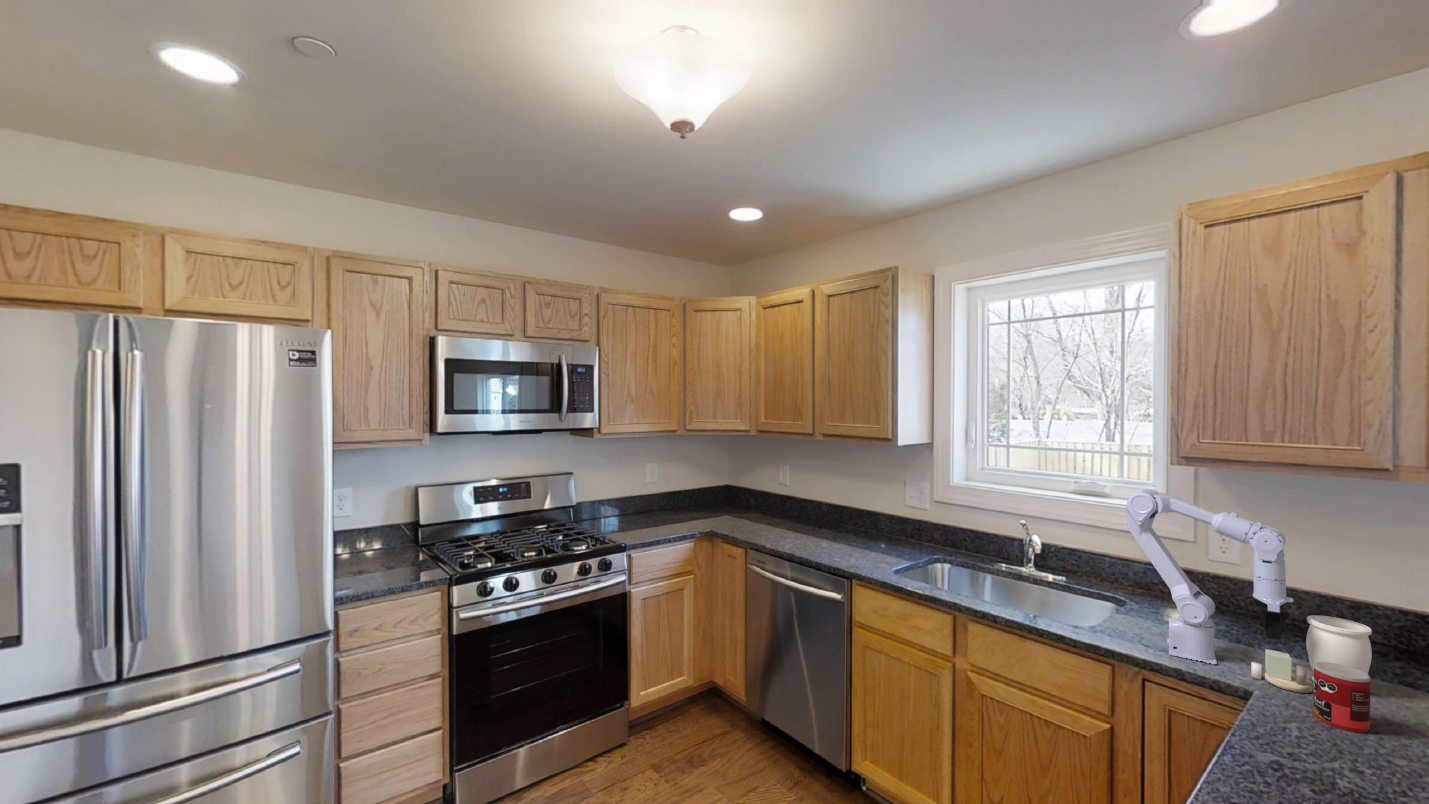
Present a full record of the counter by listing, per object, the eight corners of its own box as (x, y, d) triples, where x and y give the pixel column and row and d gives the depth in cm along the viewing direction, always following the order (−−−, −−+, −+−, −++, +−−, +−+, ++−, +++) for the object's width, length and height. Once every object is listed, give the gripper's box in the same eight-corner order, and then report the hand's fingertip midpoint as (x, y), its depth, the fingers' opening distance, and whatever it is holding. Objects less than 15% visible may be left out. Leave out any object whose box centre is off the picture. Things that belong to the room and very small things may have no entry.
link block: (1267, 675, 137) (1267, 654, 137) (1265, 669, 140) (1265, 649, 140) (1291, 680, 134) (1291, 659, 134) (1288, 674, 137) (1288, 653, 137)
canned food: (1310, 708, 126) (1311, 658, 126) (1364, 721, 121) (1365, 669, 121) (1316, 723, 120) (1317, 670, 120) (1374, 738, 115) (1374, 683, 115)
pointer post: (1251, 678, 139) (1251, 663, 139) (1250, 675, 141) (1250, 661, 141) (1261, 680, 138) (1262, 666, 138) (1260, 677, 140) (1260, 663, 140)
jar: (1351, 700, 129) (1352, 633, 129) (1294, 679, 139) (1295, 616, 139) (1382, 694, 132) (1383, 629, 132) (1324, 673, 142) (1325, 612, 142)
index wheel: (1306, 696, 131) (1306, 671, 131) (1259, 681, 137) (1259, 657, 137) (1317, 687, 135) (1317, 663, 135) (1271, 673, 142) (1271, 650, 142)
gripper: (1297, 587, 132) (1299, 647, 132) (1287, 573, 144) (1289, 628, 144) (1255, 582, 137) (1257, 640, 137) (1249, 569, 148) (1250, 622, 148)
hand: (1271, 633), depth 140 cm, fingers open, 7 cm apart
